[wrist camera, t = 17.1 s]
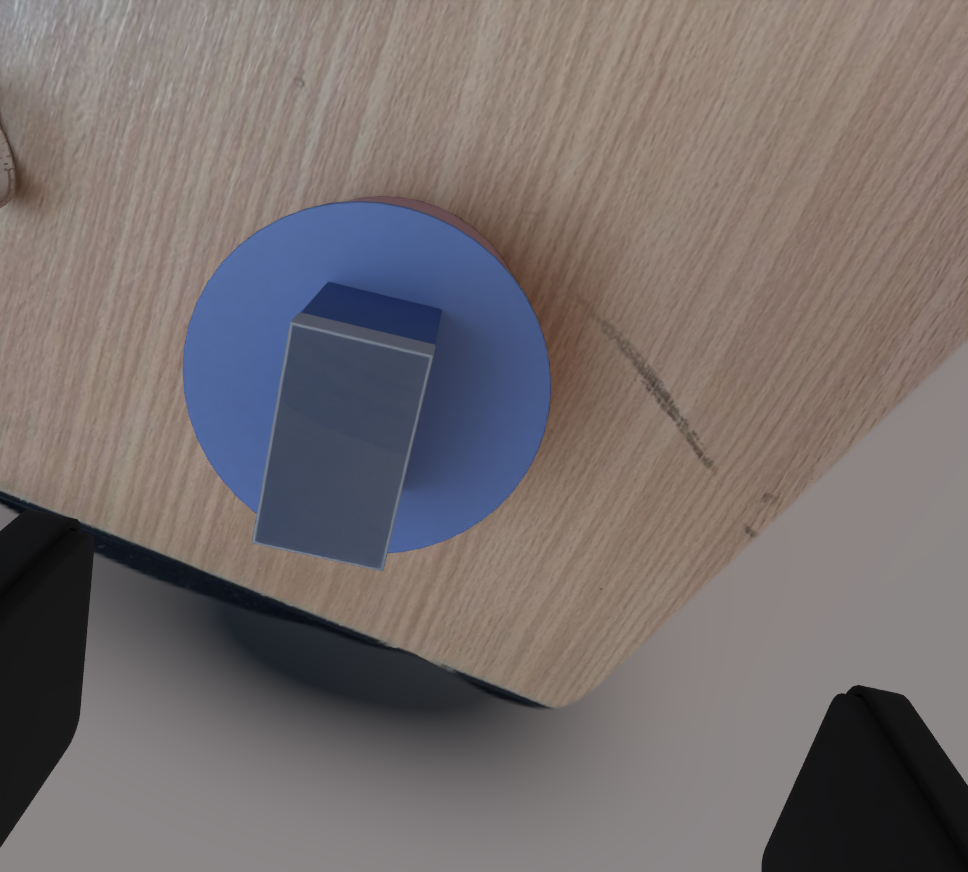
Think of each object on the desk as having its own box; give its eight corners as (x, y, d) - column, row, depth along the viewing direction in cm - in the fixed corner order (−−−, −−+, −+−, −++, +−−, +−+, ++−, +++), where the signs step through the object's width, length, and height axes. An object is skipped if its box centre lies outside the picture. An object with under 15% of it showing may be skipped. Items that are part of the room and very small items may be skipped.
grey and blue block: (443, 308, 30) (433, 355, 24) (400, 491, 32) (382, 572, 27) (326, 280, 30) (289, 320, 24) (292, 467, 32) (251, 543, 26)
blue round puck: (574, 227, 36) (595, 255, 29) (497, 505, 41) (500, 585, 34) (262, 147, 35) (208, 158, 28) (217, 442, 40) (162, 512, 33)
